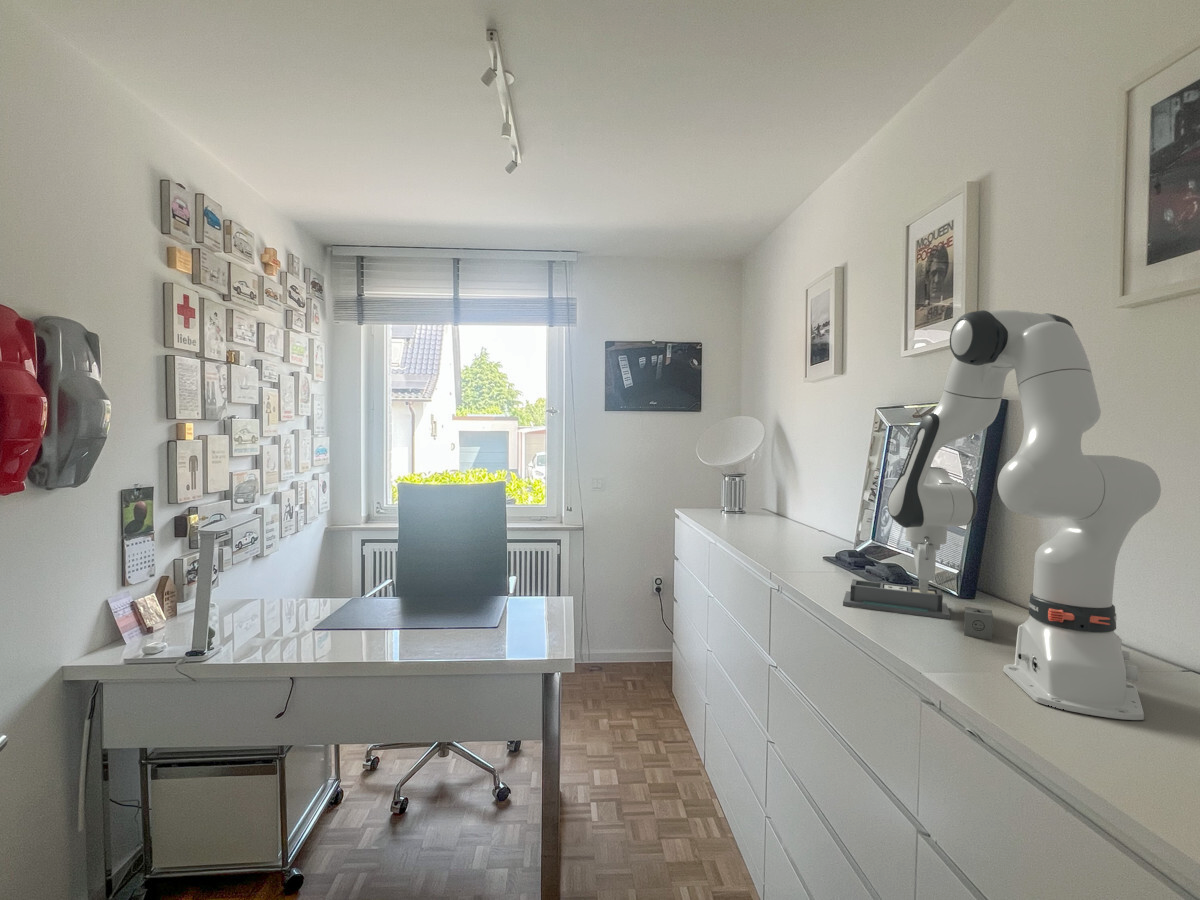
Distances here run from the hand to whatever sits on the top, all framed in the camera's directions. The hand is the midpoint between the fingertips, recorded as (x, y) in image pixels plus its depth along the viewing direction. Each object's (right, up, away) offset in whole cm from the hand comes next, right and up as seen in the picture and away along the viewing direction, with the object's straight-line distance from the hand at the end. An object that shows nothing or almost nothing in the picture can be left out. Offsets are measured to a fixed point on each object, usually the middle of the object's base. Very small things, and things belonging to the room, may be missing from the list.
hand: (923, 591), depth 157 cm
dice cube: (+2, -5, -19) cm, 20 cm away
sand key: (0, -2, 0) cm, 2 cm away
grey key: (-6, -1, +2) cm, 6 cm away
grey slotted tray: (-6, -4, +2) cm, 8 cm away
